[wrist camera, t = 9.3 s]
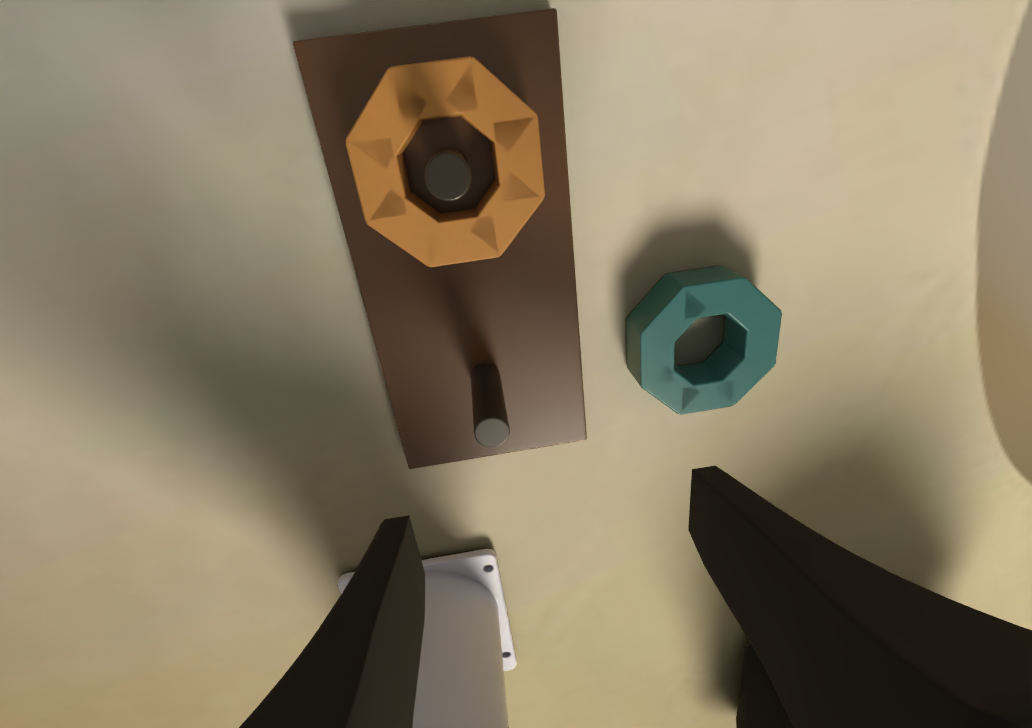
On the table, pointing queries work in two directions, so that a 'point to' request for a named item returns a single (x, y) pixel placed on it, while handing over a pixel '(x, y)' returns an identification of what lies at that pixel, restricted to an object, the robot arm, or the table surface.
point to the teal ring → (729, 365)
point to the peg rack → (469, 285)
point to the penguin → (759, 697)
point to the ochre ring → (394, 123)
